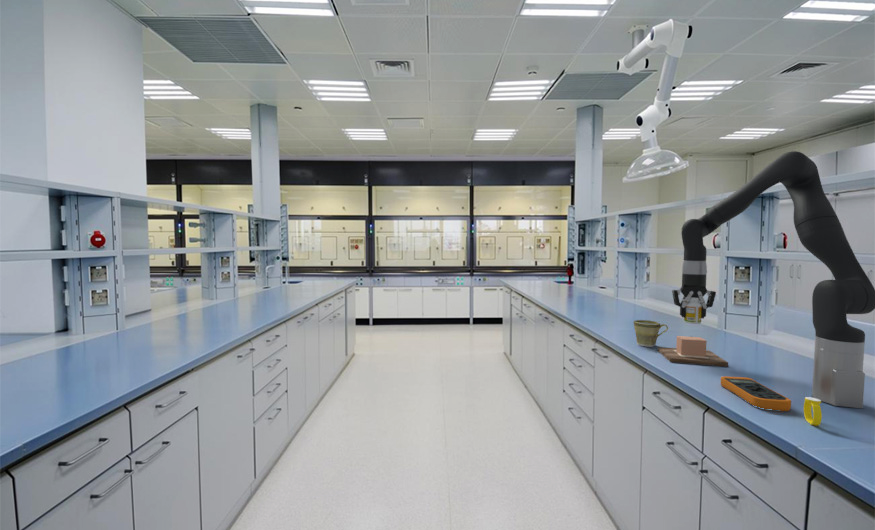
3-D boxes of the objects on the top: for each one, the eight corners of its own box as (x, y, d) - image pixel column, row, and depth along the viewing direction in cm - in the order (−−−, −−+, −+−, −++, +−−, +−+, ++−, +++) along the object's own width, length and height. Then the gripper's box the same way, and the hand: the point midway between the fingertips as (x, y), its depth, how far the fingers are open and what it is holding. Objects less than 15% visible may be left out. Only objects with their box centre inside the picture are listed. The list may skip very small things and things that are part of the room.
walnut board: (728, 366, 133) (728, 362, 133) (670, 362, 138) (670, 357, 138) (709, 354, 148) (709, 350, 148) (657, 350, 153) (657, 346, 153)
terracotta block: (705, 356, 139) (706, 340, 139) (681, 355, 141) (681, 339, 141) (700, 352, 144) (700, 337, 144) (676, 351, 147) (676, 335, 146)
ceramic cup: (635, 347, 158) (636, 323, 158) (630, 341, 168) (631, 319, 167) (670, 349, 154) (671, 325, 154) (663, 343, 164) (664, 320, 163)
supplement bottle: (695, 321, 145) (696, 296, 144) (704, 324, 139) (705, 298, 139) (680, 321, 145) (681, 296, 145) (688, 324, 140) (689, 298, 139)
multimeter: (757, 411, 97) (758, 398, 97) (718, 386, 115) (718, 375, 115) (795, 414, 96) (796, 401, 96) (750, 388, 114) (750, 376, 114)
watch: (799, 418, 94) (799, 394, 94) (814, 420, 92) (815, 396, 93) (809, 426, 88) (810, 401, 88) (825, 429, 87) (826, 403, 87)
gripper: (712, 272, 143) (710, 317, 144) (669, 271, 147) (667, 315, 148) (721, 274, 136) (719, 320, 137) (675, 273, 140) (673, 318, 141)
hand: (692, 317), depth 142 cm, fingers closed on supplement bottle, 5 cm apart
